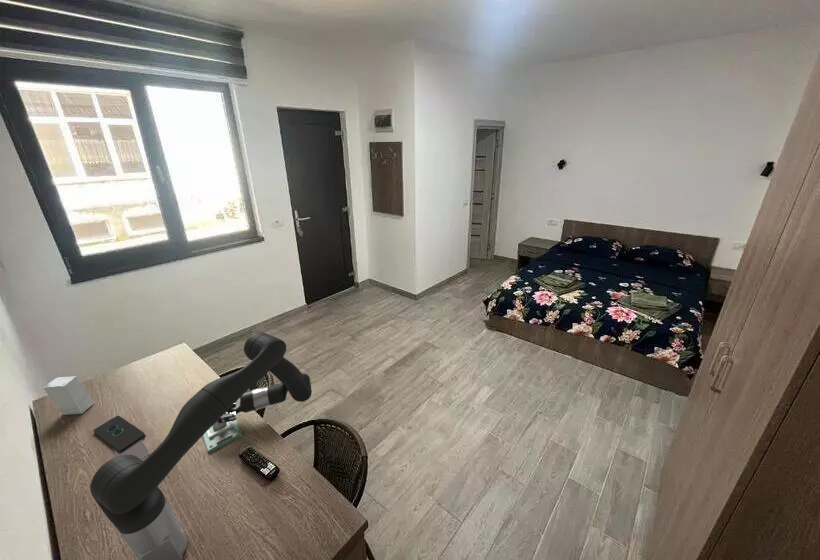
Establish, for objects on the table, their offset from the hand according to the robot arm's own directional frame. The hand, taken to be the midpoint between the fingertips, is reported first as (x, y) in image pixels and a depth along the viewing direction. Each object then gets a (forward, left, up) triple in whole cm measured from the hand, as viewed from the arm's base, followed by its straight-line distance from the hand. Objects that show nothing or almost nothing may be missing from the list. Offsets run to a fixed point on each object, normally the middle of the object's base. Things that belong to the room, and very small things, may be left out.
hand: (206, 412), depth 116 cm
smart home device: (+21, +27, -10) cm, 36 cm away
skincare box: (+49, +40, -9) cm, 64 cm away
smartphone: (+10, +24, -10) cm, 28 cm away
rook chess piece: (-1, -2, -8) cm, 8 cm away
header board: (-1, -2, -9) cm, 9 cm away
